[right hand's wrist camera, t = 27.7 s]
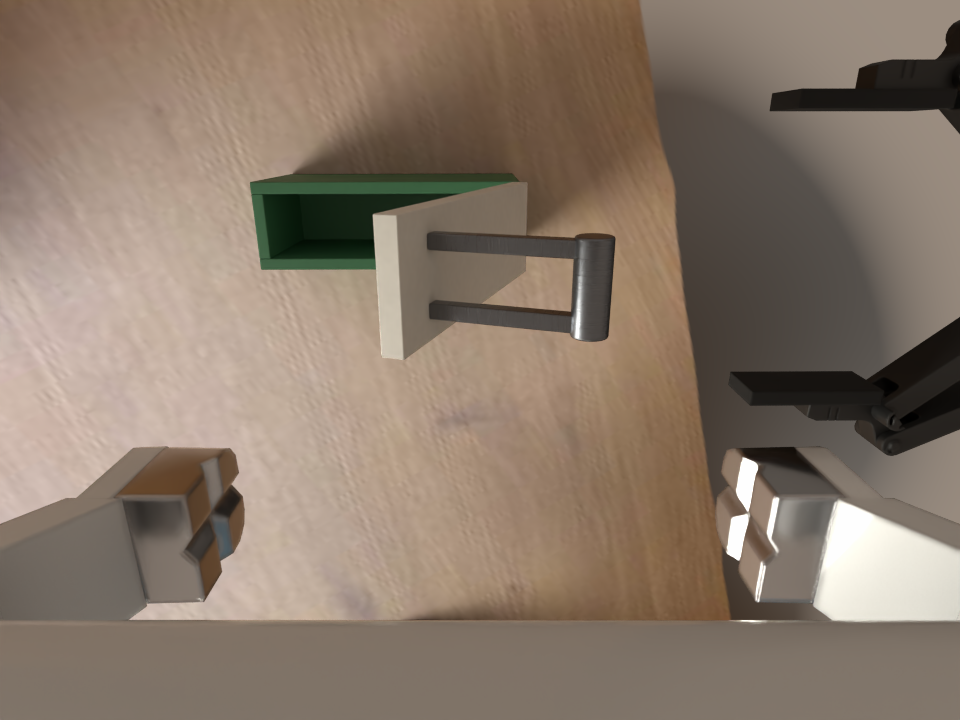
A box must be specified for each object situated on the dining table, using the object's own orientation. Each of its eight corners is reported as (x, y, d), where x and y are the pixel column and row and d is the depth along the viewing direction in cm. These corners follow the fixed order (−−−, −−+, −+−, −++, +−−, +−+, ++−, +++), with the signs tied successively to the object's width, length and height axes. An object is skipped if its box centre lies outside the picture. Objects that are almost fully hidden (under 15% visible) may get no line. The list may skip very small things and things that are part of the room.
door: (381, 357, 24) (594, 384, 21) (372, 213, 22) (605, 223, 19) (511, 270, 40) (643, 279, 37) (512, 181, 38) (651, 184, 35)
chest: (298, 247, 48) (260, 269, 40) (290, 174, 46) (249, 182, 38) (511, 246, 48) (518, 269, 40) (512, 173, 46) (519, 181, 38)
